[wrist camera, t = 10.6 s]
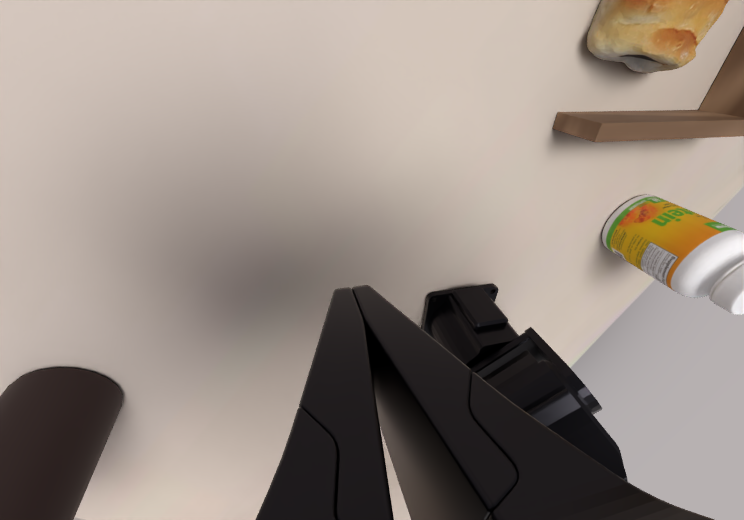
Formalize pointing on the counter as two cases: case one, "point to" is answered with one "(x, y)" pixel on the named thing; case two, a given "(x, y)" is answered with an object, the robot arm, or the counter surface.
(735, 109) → the box
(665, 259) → the supplement bottle
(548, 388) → the robot arm
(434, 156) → the counter surface
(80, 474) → the vinegar
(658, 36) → the pastry
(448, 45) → the counter surface
